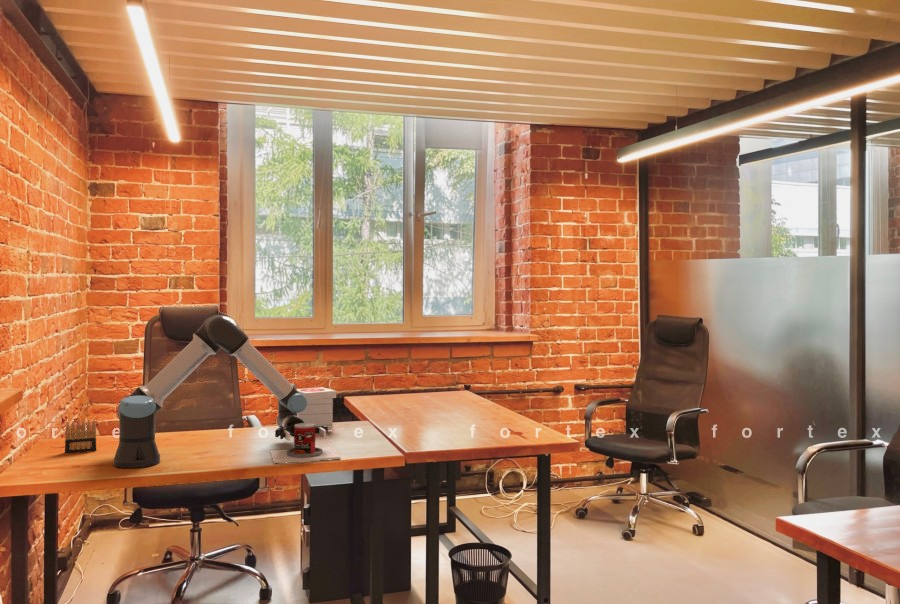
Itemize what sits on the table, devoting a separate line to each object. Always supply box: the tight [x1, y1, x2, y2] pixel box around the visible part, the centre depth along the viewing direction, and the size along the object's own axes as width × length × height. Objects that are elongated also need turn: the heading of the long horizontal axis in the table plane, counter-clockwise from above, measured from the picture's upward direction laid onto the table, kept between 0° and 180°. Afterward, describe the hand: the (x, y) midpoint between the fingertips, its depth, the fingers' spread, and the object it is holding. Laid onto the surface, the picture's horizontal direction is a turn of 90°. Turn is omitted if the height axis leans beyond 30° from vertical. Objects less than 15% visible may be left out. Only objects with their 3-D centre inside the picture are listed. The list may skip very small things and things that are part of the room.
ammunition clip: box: [64, 419, 97, 454], centre depth 262 cm, size 11×2×12 cm, turn 118°
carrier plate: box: [269, 446, 342, 465], centre depth 258 cm, size 24×18×2 cm
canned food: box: [293, 423, 316, 454], centre depth 258 cm, size 8×8×11 cm
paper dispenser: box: [296, 387, 337, 430], centre depth 317 cm, size 19×30×18 cm, turn 15°
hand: (307, 435), depth 255 cm, fingers open, 13 cm apart
